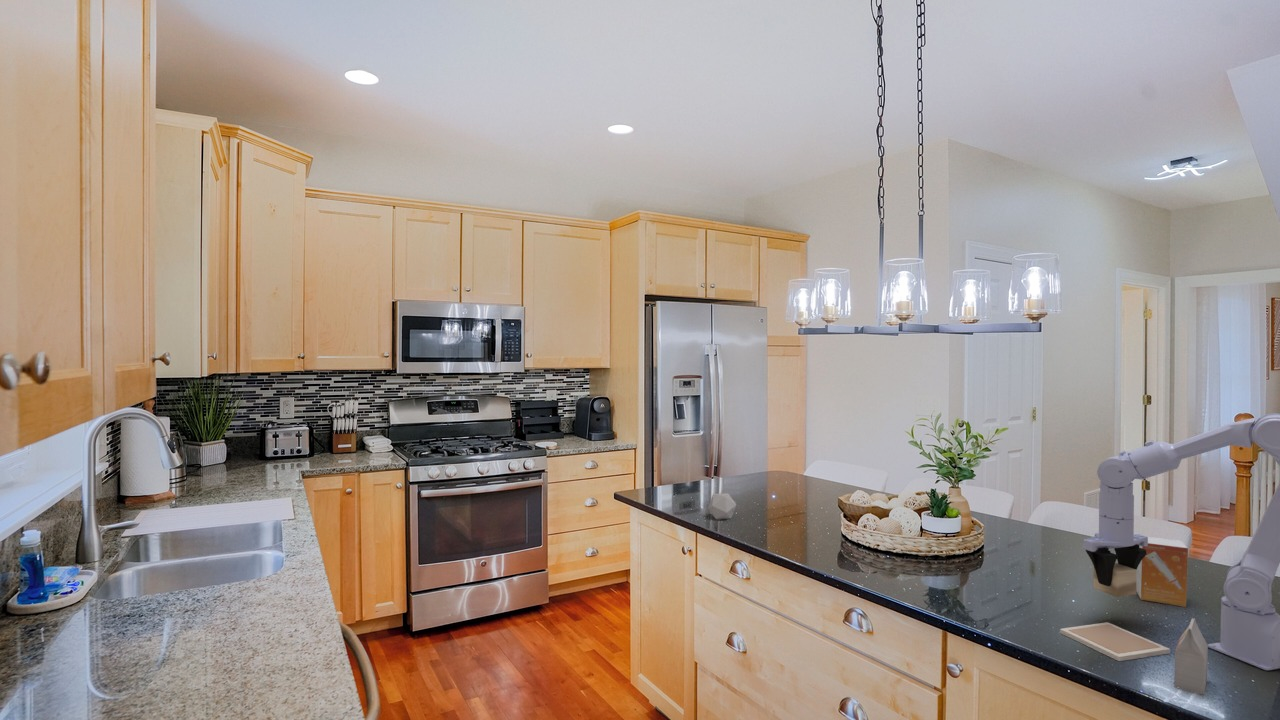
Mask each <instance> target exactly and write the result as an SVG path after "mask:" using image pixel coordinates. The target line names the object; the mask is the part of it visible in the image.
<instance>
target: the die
mask: <svg viewBox="0 0 1280 720" xmlns="http://www.w3.org/2000/svg"><path fill="white" fill-rule="evenodd" d="M736 507H737V503H736V502H735V500H734V499H733V498H732V496H731V495H730V494H729V493H713V494H712V496H711V499H710V502H709V504H708V505H707V509H708V510H709V512H710V513H711V515H712V516H713V517H714V519H715V520H717V521H718V520H731V519H732V517H733V514H734V512H735V510H736Z"/></svg>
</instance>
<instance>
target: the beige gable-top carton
mask: <svg viewBox="0 0 1280 720" xmlns="http://www.w3.org/2000/svg"><path fill="white" fill-rule="evenodd" d="M1208 648H1209V647H1208V643H1207V641H1206V639H1205V637H1204V636H1203V634H1202V633H1201V630H1200V628H1199V626H1198V624H1197V620H1196V618H1193V617H1192V618H1191V620H1190V623H1189V624H1188V626H1187V628H1186V629H1185V630H1184V631H1183V633H1182V634H1181V636H1180V637H1179V638H1178V642H1177V645H1176V647H1175V651H1174V684H1173V685H1174V686H1173V687H1174V688H1177V687H1179V688H1178V689H1180V688H1181V690H1184V689H1185V690H1184V691H1187V692H1192V693H1195V694H1197V695H1198V694H1199V695H1201V696H1204V695H1205V691H1206V686H1207V681H1208V652H1209V651H1208V650H1209V649H1208Z"/></svg>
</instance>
